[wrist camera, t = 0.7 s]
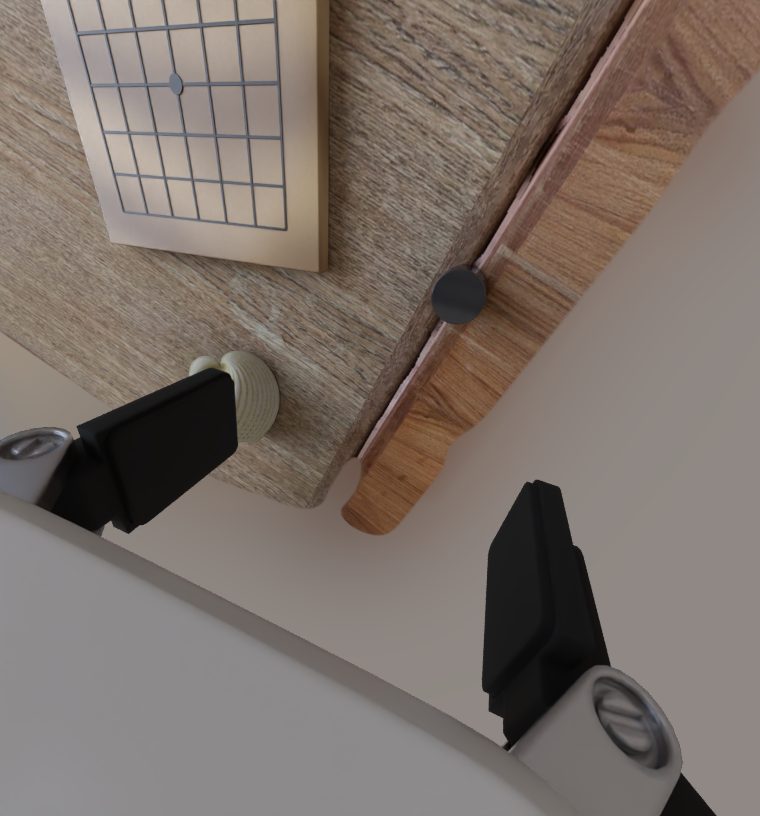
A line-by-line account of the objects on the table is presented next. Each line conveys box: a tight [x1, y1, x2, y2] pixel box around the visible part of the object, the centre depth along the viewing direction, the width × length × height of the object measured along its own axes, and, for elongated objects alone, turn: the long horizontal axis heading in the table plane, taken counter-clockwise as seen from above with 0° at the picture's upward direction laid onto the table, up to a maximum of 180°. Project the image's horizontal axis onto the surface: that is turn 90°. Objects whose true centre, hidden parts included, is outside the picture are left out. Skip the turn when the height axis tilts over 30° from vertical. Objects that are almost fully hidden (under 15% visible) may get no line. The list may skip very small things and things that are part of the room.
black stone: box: [431, 264, 488, 324], centre depth 21 cm, size 3×3×3 cm
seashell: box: [189, 351, 279, 442], centre depth 30 cm, size 8×8×8 cm
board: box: [41, 0, 330, 273], centre depth 21 cm, size 20×20×2 cm
